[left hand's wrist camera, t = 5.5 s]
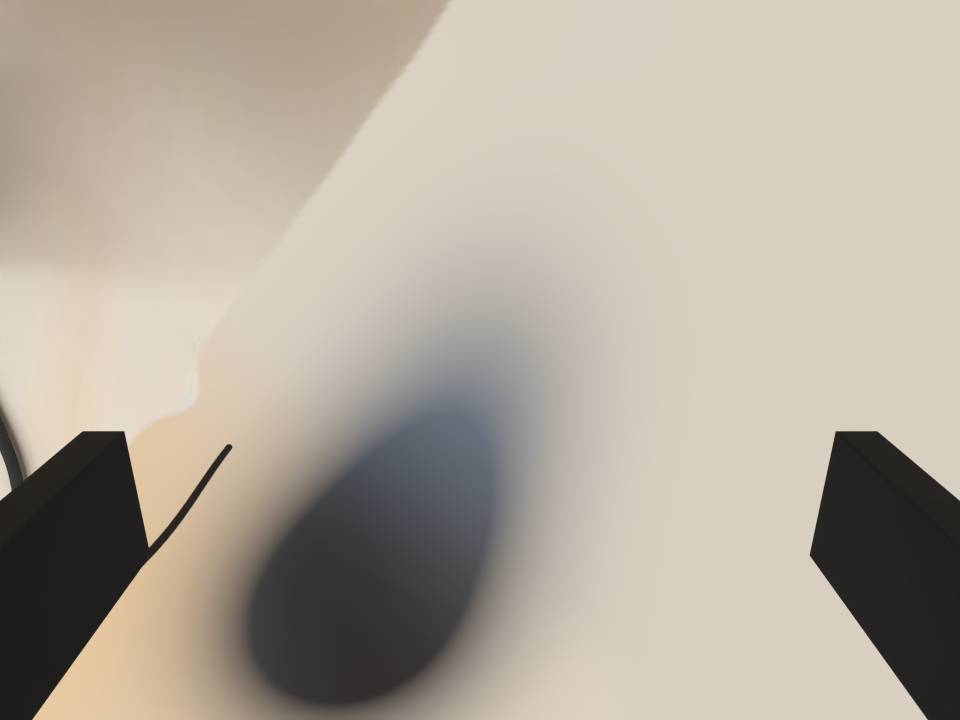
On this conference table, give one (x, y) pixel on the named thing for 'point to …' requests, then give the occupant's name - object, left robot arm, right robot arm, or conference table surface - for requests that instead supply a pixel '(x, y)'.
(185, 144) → the conference table surface
